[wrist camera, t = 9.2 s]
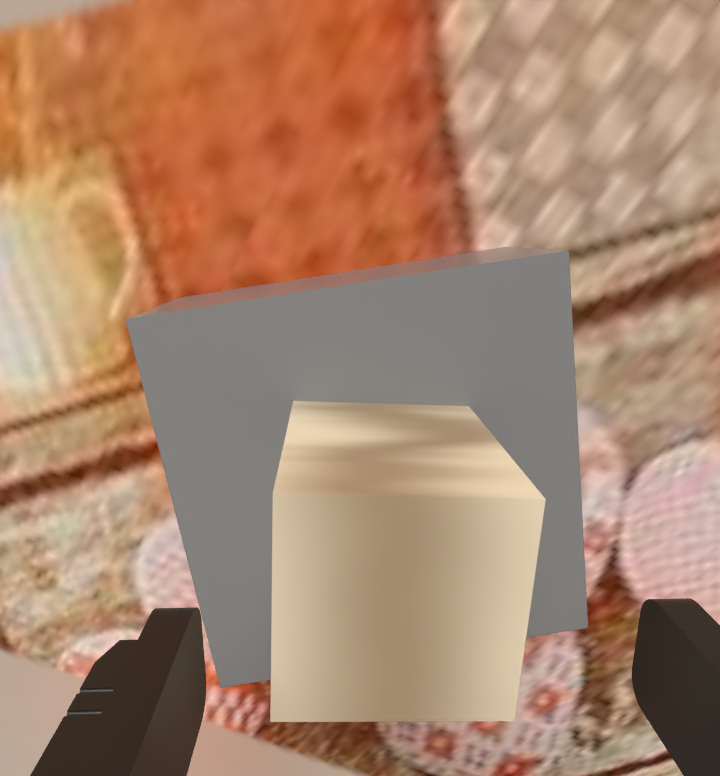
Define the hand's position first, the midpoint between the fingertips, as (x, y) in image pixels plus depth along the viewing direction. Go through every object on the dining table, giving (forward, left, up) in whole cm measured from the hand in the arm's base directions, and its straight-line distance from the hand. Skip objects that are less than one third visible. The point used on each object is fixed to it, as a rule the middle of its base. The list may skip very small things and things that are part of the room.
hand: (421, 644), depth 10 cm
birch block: (0, 0, -7) cm, 7 cm away
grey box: (0, 0, -13) cm, 13 cm away
